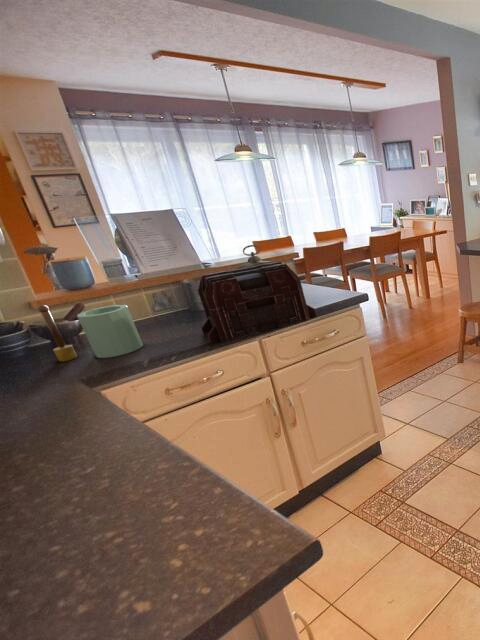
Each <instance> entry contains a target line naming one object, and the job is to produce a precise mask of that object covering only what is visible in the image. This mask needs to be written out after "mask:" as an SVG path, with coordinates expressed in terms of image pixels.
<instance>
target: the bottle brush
mask: <svg viewBox="0 0 480 640" xmlns="http://www.w3.org/2000/svg"><path fill="white" fill-rule="evenodd" d="M37 311H38V312H39V313H40V315H41V317H42V319H43V320H44V322H45V324H46V326H47V328H48V330H49V332H50V334H51V336H52V338H53V340H54V342H55V344H56V346H57V347H55V348H53V350H52V351H53V352H54V354H55V356H56V359H57V360H58V361H59V362H67V361H72V360H74V359H76V358H77V357H78V355H77V352H76V351H75V349H74V347H73V344H66V343H65V340H64V338H63V336H62V335H61V332H60V331H59V329H58V326H57V324H56V322H55V320H54V318H53V316H52V314H51V312H50V307H49V306H48V305H45V304H41V305H39V306H38V307H37Z"/></svg>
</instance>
